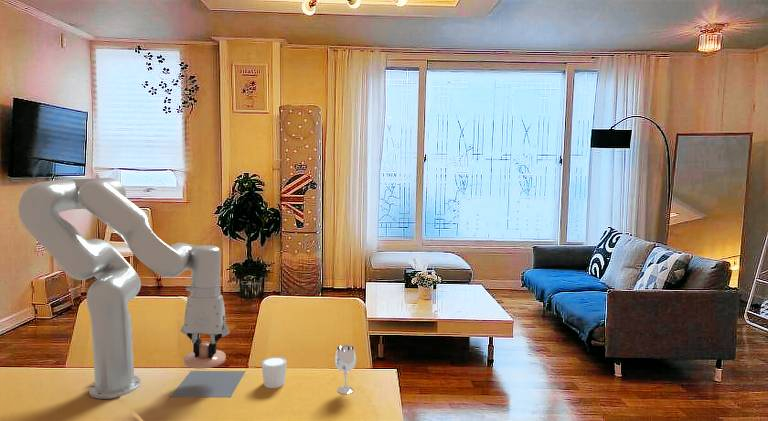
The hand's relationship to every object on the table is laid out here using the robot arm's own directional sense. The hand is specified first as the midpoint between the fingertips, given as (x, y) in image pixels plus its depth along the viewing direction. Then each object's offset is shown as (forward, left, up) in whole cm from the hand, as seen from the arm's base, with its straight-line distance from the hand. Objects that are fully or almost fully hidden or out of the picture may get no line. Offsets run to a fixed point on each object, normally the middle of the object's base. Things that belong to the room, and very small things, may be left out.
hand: (204, 355), depth 144 cm
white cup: (+13, +14, -9) cm, 21 cm away
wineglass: (+29, +26, -9) cm, 40 cm away
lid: (0, 0, -1) cm, 1 cm away
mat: (+1, +1, -9) cm, 9 cm away
